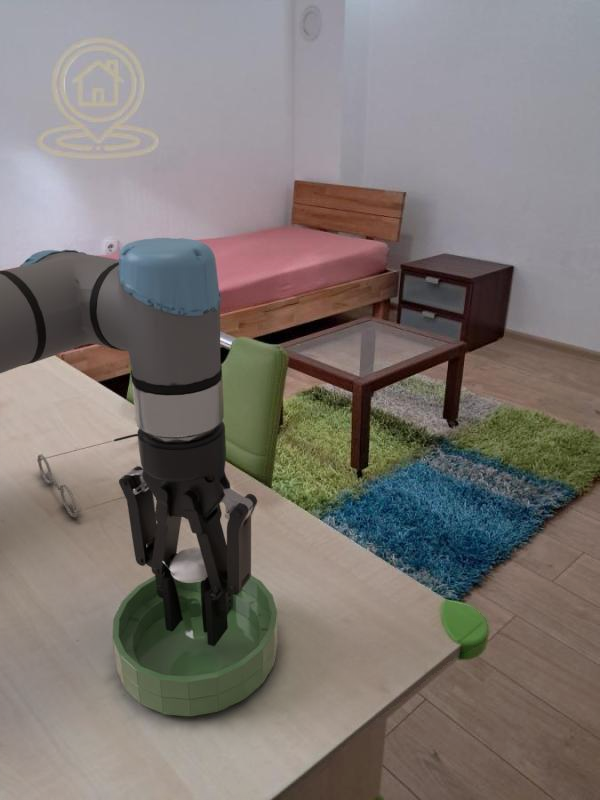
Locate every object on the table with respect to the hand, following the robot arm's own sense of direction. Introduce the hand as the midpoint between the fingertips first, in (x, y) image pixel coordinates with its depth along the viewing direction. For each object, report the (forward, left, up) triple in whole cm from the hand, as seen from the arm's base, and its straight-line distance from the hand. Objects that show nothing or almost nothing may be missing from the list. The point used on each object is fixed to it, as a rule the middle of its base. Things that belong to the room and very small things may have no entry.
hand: (197, 628), depth 64 cm
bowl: (0, 0, -3) cm, 3 cm away
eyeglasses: (-30, +25, -3) cm, 39 cm away
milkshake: (0, 0, -1) cm, 1 cm away
